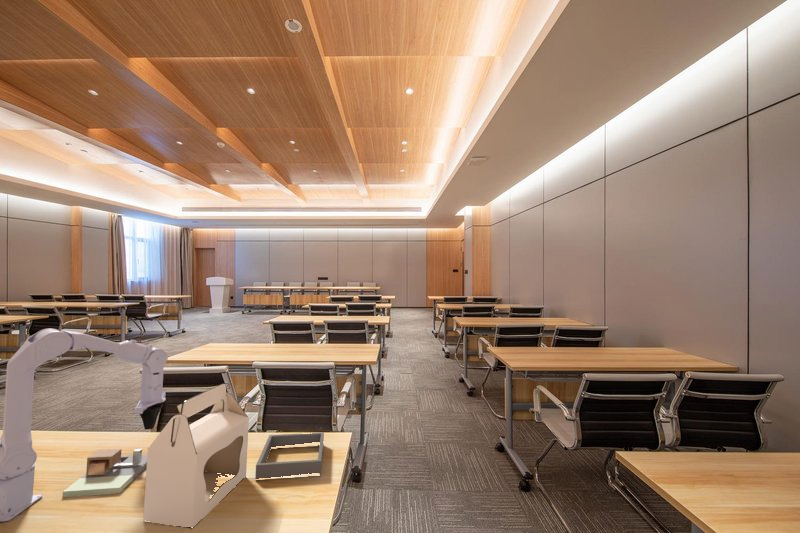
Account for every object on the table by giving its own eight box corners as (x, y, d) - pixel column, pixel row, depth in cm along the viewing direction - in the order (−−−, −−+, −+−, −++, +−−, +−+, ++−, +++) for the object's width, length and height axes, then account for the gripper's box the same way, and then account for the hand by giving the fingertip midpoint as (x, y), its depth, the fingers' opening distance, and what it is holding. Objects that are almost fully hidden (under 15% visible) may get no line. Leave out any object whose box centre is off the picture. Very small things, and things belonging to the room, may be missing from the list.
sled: (129, 474, 98) (130, 458, 98) (87, 477, 96) (88, 461, 96) (144, 460, 105) (145, 446, 105) (105, 462, 103) (106, 448, 104)
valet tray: (320, 476, 102) (321, 461, 103) (255, 481, 99) (256, 465, 99) (323, 445, 122) (323, 432, 122) (268, 448, 118) (269, 435, 118)
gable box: (206, 472, 103) (211, 378, 104) (246, 476, 101) (251, 381, 103) (141, 523, 81) (148, 404, 82) (191, 530, 79) (198, 408, 81)
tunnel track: (119, 493, 92) (121, 468, 92) (62, 497, 89) (64, 472, 90) (154, 458, 109) (156, 438, 110) (108, 461, 107) (109, 440, 107)
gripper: (153, 392, 103) (150, 438, 103) (176, 378, 117) (173, 418, 117) (127, 393, 102) (124, 439, 101) (153, 379, 116) (151, 419, 116)
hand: (149, 428), depth 109 cm, fingers closed
